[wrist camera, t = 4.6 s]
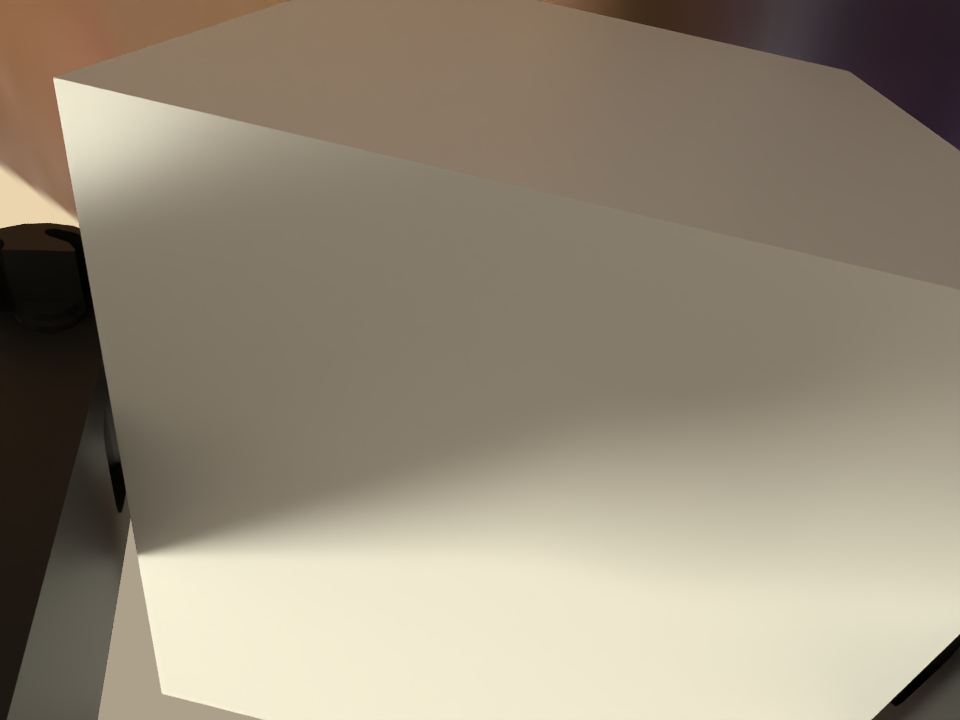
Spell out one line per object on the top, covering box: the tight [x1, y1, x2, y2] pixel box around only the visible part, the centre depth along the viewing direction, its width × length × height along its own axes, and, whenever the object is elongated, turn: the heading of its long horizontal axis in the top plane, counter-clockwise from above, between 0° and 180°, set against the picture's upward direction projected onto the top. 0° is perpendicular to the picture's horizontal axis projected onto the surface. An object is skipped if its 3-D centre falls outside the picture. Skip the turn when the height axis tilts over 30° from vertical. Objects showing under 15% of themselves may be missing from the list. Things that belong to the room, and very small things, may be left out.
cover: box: [53, 0, 960, 720], centre depth 11 cm, size 8×8×9 cm
